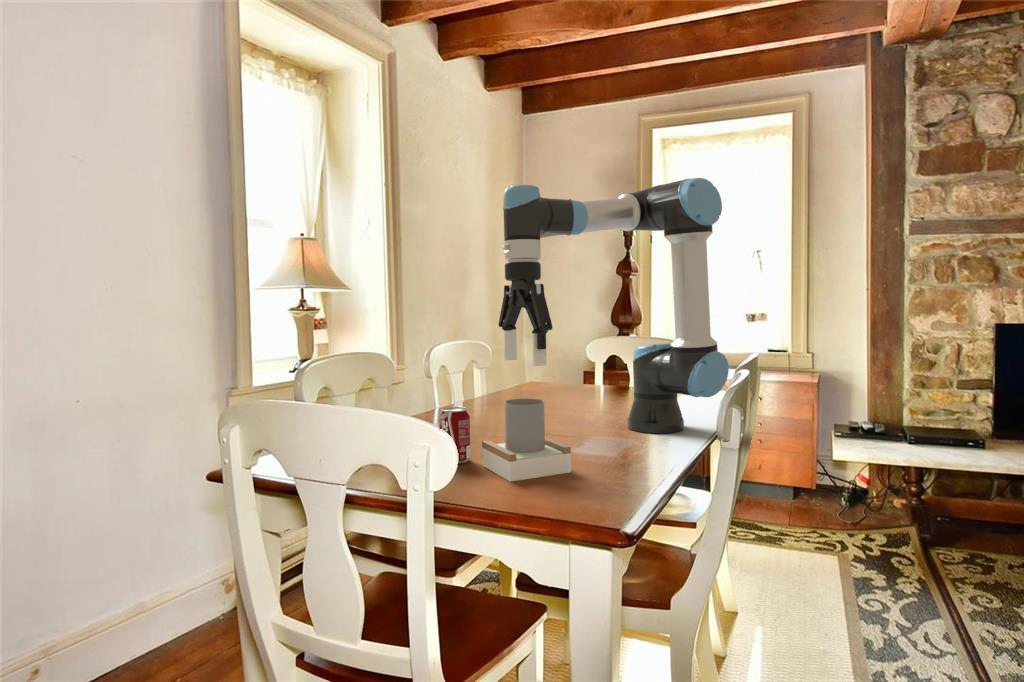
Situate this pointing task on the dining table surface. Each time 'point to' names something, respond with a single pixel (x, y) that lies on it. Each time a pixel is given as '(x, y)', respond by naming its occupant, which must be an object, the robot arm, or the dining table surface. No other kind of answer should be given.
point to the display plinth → (526, 460)
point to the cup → (524, 425)
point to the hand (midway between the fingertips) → (524, 362)
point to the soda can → (457, 429)
